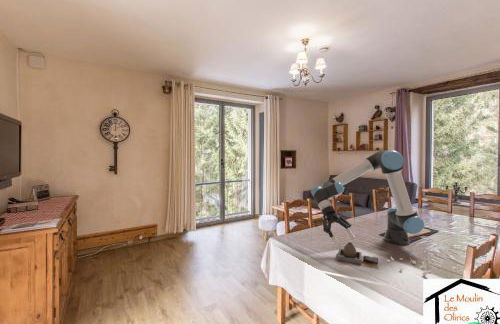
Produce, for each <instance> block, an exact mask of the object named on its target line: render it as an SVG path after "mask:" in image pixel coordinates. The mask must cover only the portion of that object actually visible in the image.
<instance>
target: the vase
mask: <svg viewBox="0 0 500 324" xmlns="http://www.w3.org/2000/svg"><path fill="white" fill-rule="evenodd" d="M342 249H343V254H344V256H345V257H350V258H355V257H356V251H357V249H356V247H355V246H354V244H353V242H350V241H349V242H347V243H346V244H345V245H344V247H343V248H342Z"/></svg>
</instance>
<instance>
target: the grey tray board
mask: <svg viewBox="0 0 500 324" xmlns="http://www.w3.org/2000/svg"><path fill="white" fill-rule="evenodd" d="M343 249H344V248H339V249H338V252H337V256H336V257H337V261H336V262H338V261H342V262H341V263H343V262H348V263H347V264H349V263H353V264H352V265H354V264H358V265H357V266H359V265H361V261H362V256H364V257H363V261H365V262H371V263H376V264H378V265H379V257H375V256H369V255H362V251H357V250H356V256H357V257H360V258H359V259H355V258H350V257H344V256H340V255H341V254H343Z"/></svg>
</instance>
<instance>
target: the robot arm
mask: <svg viewBox="0 0 500 324" xmlns="http://www.w3.org/2000/svg"><path fill="white" fill-rule="evenodd" d="M404 160H405V159H404V156H403V155H402V154H401V153H400V152H399V151H398V150H392V149H391V150H390V149H389V150H378V151H376V152H374V153H373V154H371V155H369V156H367V157H366V158H364V159H363V161H362V162H360V163H358V164H356V165H354V166H352V167H351V168H349V169H347V170H346V171H344V172H342V173H340V174H339V175H337V176H334V177H333V178H331V179H330V180H325V181H324V182H322V183H321V186H320V185H318V186H314V187H313V188H312V189H311V191H310V192H311V195H312V197H313V199H314V201H315V203H316V205H317V206H318V207H319V209H320V211H321V213H322V216H321V221H322V229H323V232H324V233H325V234H328V236H329V238H331V240H332V242H333V244H336V243H337V242H338V241H339V240H338V238H337V237H336V235H335V233H334V231H333V230H331V229H332V224H333V223H336V224H339V225H340V226H341V227H343V228H345V231H346V233H347V234H348V237H349V238H350V239H351V240H352V241H353V240H355V238H356V236H355V235H354V233H353V230H352V228H351V227H352V224H351V222H349V221H347V220H346V219H345V217H343V216H342V214H341V213H338V214H337V213H336V210H335V208H334V206H333V205H332V203H331V201H330V200H329V199H330V198H333V197H335V196H338V195H340V194H342V193H344V191H345V188H344V186H345V185H347V184H348V183H350V182H352V181H354V180H356V179H358V178H359V177H361V176H363V175H364V174H365V175H366V173H368V172H370V171H371V172H373V171H375V170H379V169H380V170H381V173H382V175H384V176H385V177H386V180H387V183H388V185H389V188H390V192H391V196H392V198H393V202H394V205H395V207H389V208H388V209H387V225H386V226H387V227H386V230H385V233H384V236H383V240H384V241H386V242H388V243H390V244H395V245H401V246H402V245H405V246H406V245H410V241H411V240H410V237H409V234H410V235H417V234H420V233H421V232H422V231H423V229H425V228H424V227H425V222H424V219H422V218H421V217H420V216H419V215H418V212H417V209H416V208H414V207H413V206H412V203H411V200H410V196H409V193H408V189H407V187H406V183H405V181H404V178H403V173H402V171H403V170H404V168H403V164H404Z"/></svg>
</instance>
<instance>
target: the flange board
mask: <svg viewBox="0 0 500 324" xmlns="http://www.w3.org/2000/svg"><path fill="white" fill-rule="evenodd" d="M340 256H344V254H341V255H340ZM364 256H365V255H362V261H361V265H358V264H353V263H348V262H342V261H337V262H338V263H343V264H349V265H355V266H361V267H364V268H365V267H366V268H370V269H374V270H375V269H376V270H379V263H378V264H376V263H371V262H365V261H363V257H364ZM344 257H345V256H344ZM359 258H360V257H357V256H356V257H355V259H359Z"/></svg>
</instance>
